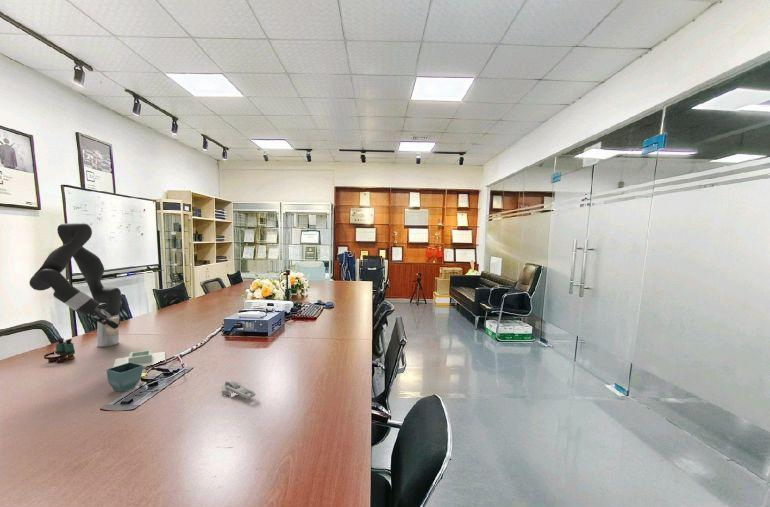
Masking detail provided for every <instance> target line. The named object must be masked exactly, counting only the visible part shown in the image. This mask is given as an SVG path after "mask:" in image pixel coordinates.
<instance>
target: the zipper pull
mask: <svg viewBox="0 0 770 507" xmlns="http://www.w3.org/2000/svg"><path fill="white" fill-rule="evenodd" d="M233 392H234V393H236V394H238V395H237V396H241V397H242V398H245V399H247V400H249V399H250V398H253V397H255V396H256V392H255V391H252V389H249V388H247V387H246V386H244V385H242V383H241V382H238V381H235V380H233V379H232V380H231V379H230V380H228V381H225V382H224V385H222V387H221V393H222V395H229V396H228V397H229V398H230V397H231V393H233ZM247 394H248V395H247ZM222 395H221V396H222Z"/></svg>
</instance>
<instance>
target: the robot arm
mask: <svg viewBox="0 0 770 507" xmlns="http://www.w3.org/2000/svg"><path fill="white" fill-rule="evenodd" d="M57 235H58V236H59V239H60V241H61V242H62V243H63V244H62V245H61V246H58V247H57V248H56V249H54V250H53V251H51V252H50V254H48V256H47V257H46V258H45V260H44V262H43V264H42V265H41V267H40V268H39V269H38V270H37V271H36V272H35V273H34V274H33V276H32V277H30V279H29V286H30V288H32V289H33V290H35V291H39V292H40V291H45V290H48V289H52V290H53V291H54V292H53V297H54V298H55V299H57V300H58V301H60V302H61V303H63V304H65V306H66V305H67V307H69V308H70V309H72V310H73V311H75V312H77V313H78V314H80V315H81V316H83V317H86V316H88V315H89V314H90V315H91V316H92V317H91V318H92V320H94V321H96V322H97V324H96V326H97V327H96V328H97V334H96V337H97V339H96V340H97V341H96V342H97V343H96V345H97V347H100V348H105V347H111V346H116V345H118V344H119V343H120V342H119V341H120V324H121V322H120V321H119V323H118V324H116V323H115V322H113V321H112V320H111V319H109V318H113V317H118V318H119V319H120V310H121V301H122V292H121V289H120V288H118V287H105V286H104V285H103V284H102V282H101V281H102V280H101V279H102V277H103V275H104V273H105V267H104V265H103V262H102V261H101V259H100V257H99V256H98V255H96V254H95V253H93V252H92V251H90V250H89V249H87V248H85V247H84V245H86V243H88V242H89V241H90V239H91V238H92V235H93V230H92V227H91V226H90V225H89V224H87V223H84V222H72V223H60V224H59V225H58V226H57ZM72 258H73V260H74V261H75V263H76V266H77V267H78V269H79V271H80V272H81V275H82V276H83V278H84V279H85V282H86V283H87V286H88V288H89V291H90V294H91V296H89V295H88V294H87V293H84V292H82V291H80V290H79V289H78V288H76V287H75V286H73V285H72V284H71V283H70V282H69V281H68V280H67V278H66V277H65V276H64V275H63V273H62V272H63V271H64V270H65V269H66V268H67V266H68V264H69V263H70V261H71V259H72ZM101 304H103V305H104V304H107V306H106V307H105V308H98V307H99V306H100V305H101ZM107 324H108V325H109V326H110V327H112V328H113V329H116V328H117V327H118V335H116V336H106V325H107Z"/></svg>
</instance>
